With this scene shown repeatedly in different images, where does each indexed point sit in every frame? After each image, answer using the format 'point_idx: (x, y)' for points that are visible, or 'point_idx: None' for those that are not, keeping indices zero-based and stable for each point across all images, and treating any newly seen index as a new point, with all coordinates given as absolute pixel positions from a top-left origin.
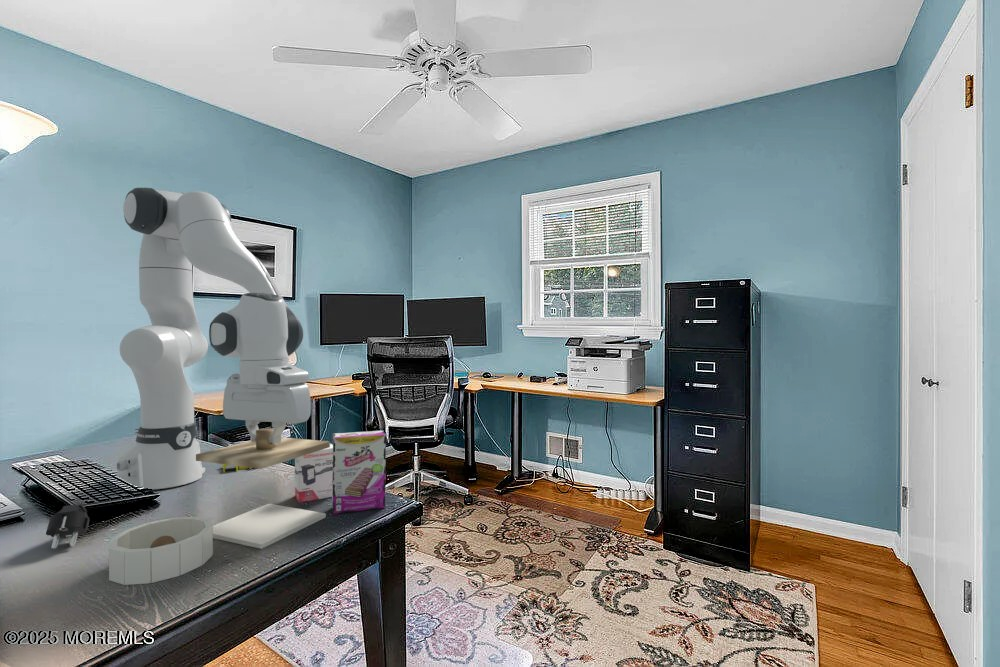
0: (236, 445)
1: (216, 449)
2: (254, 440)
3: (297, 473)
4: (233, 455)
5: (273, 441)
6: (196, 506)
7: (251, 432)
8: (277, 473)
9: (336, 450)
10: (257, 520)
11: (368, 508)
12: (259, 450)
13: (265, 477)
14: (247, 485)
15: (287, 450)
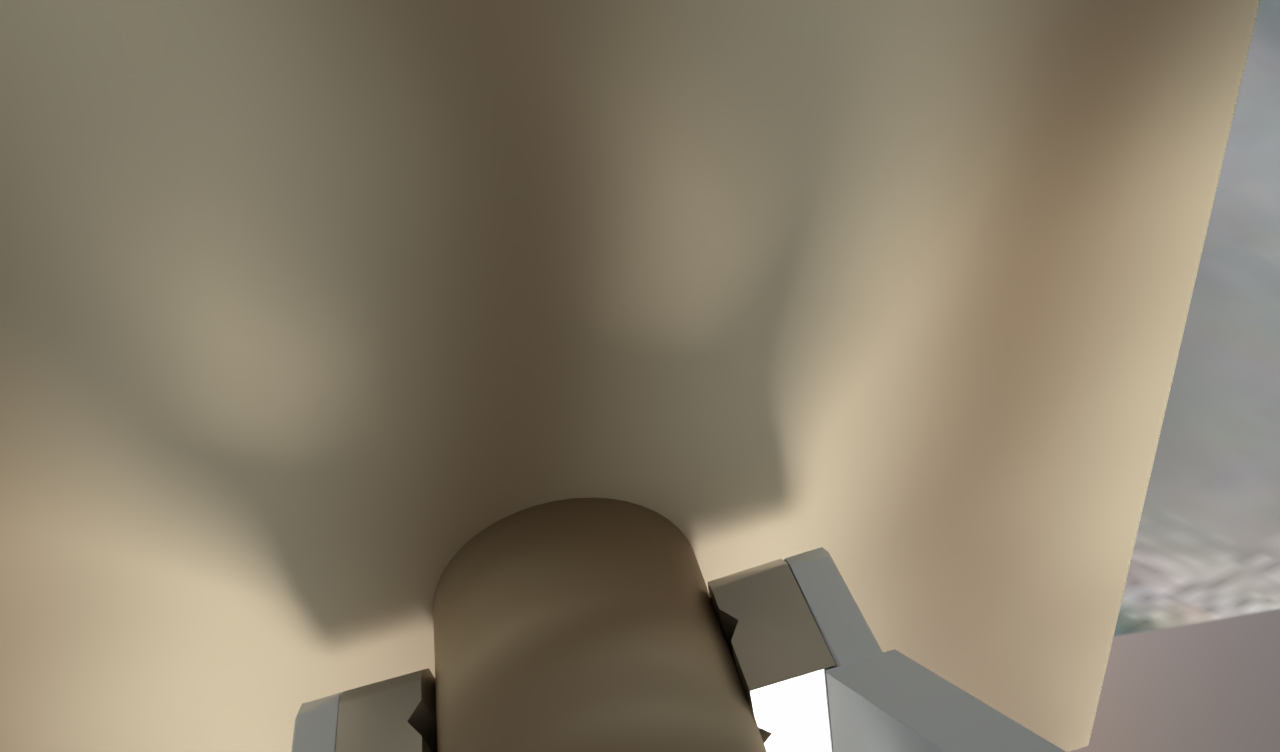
0: (1101, 408)
1: (1217, 119)
2: (749, 594)
3: None
4: (463, 82)
5: (303, 740)
6: (1263, 35)
7: (864, 689)
8: (1203, 555)
9: None
10: None
11: None
12: (457, 496)
13: (1221, 498)
14: (1225, 393)
15: (91, 718)
